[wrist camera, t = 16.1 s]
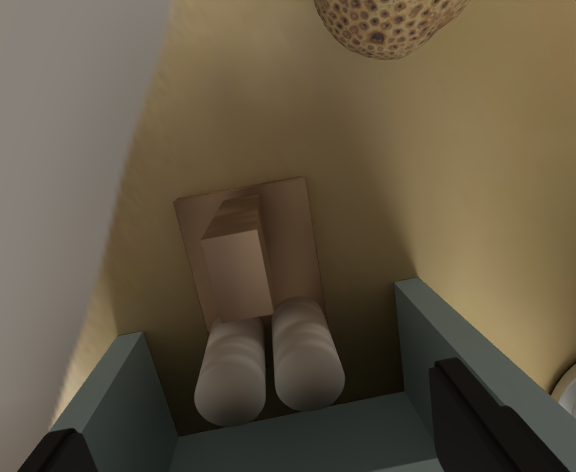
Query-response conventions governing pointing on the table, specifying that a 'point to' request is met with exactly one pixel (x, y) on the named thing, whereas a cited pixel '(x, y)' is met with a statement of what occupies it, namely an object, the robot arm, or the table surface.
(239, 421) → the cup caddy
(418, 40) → the natural sponge
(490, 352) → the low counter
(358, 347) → the table surface
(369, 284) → the table surface
